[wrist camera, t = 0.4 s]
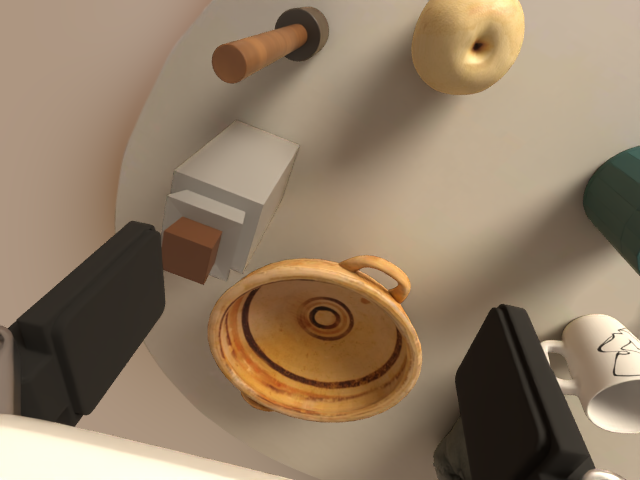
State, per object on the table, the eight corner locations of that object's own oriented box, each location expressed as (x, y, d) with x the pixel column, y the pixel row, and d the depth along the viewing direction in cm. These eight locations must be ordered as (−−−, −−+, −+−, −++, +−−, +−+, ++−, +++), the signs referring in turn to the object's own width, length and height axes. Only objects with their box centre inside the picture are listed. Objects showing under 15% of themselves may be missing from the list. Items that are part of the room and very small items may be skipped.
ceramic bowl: (333, 404, 60) (326, 455, 54) (194, 326, 56) (167, 371, 49) (477, 288, 45) (493, 339, 38) (302, 169, 41) (285, 203, 34)
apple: (409, -24, 30) (480, -59, 24) (485, 12, 34) (565, -9, 27) (381, 80, 32) (439, 77, 26) (455, 105, 36) (523, 108, 29)
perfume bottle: (299, 145, 39) (244, 237, 24) (281, 200, 43) (222, 311, 28) (236, 120, 39) (139, 197, 24) (223, 178, 43) (132, 277, 28)
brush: (291, 2, 33) (189, 8, 16) (332, 11, 33) (273, 27, 16) (285, 48, 35) (189, 97, 18) (324, 57, 35) (264, 114, 18)
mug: (520, 357, 50) (547, 431, 41) (527, 307, 46) (558, 377, 37) (623, 357, 47) (673, 435, 39) (640, 304, 43) (700, 378, 35)
